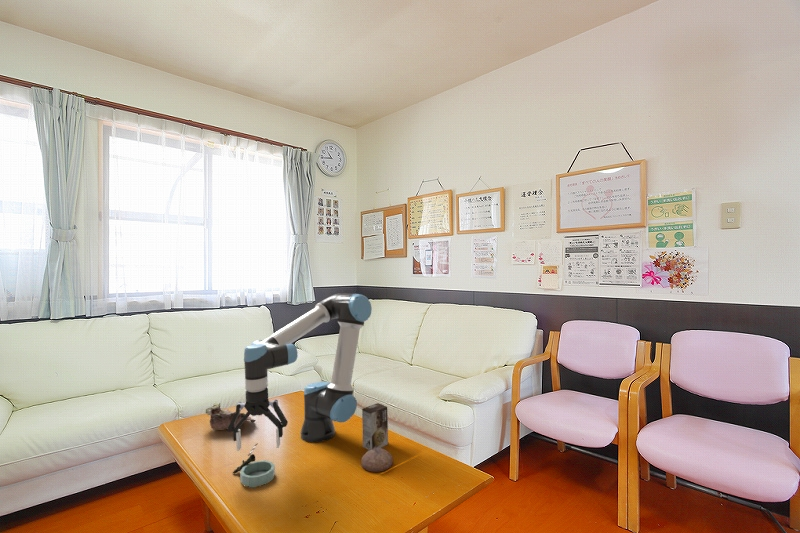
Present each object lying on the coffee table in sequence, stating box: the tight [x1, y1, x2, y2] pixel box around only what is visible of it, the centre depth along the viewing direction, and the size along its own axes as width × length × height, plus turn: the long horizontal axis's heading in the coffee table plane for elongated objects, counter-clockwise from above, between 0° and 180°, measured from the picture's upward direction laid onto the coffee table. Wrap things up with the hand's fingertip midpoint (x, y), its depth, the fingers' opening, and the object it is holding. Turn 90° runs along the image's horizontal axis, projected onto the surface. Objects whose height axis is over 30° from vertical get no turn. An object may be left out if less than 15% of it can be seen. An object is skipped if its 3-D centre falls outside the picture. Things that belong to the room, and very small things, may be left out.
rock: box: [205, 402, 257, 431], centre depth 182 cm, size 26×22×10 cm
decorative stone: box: [360, 447, 394, 473], centre depth 144 cm, size 12×12×6 cm
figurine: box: [232, 443, 258, 474], centre depth 139 cm, size 6×4×12 cm
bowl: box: [239, 459, 276, 488], centre depth 136 cm, size 11×11×4 cm
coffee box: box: [361, 402, 389, 451], centre depth 160 cm, size 9×6×16 cm
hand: (258, 447), depth 137 cm, fingers open, 13 cm apart
